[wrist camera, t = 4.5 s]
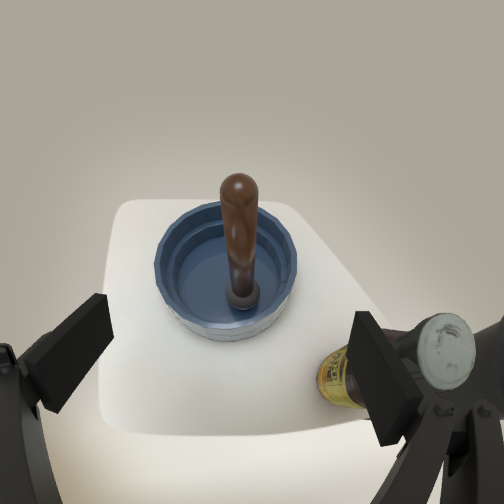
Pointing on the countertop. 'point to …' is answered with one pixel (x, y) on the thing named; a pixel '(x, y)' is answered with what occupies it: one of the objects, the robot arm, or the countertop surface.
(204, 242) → the bowl
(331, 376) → the sauce bottle
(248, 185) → the wooden pestle
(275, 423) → the countertop surface
